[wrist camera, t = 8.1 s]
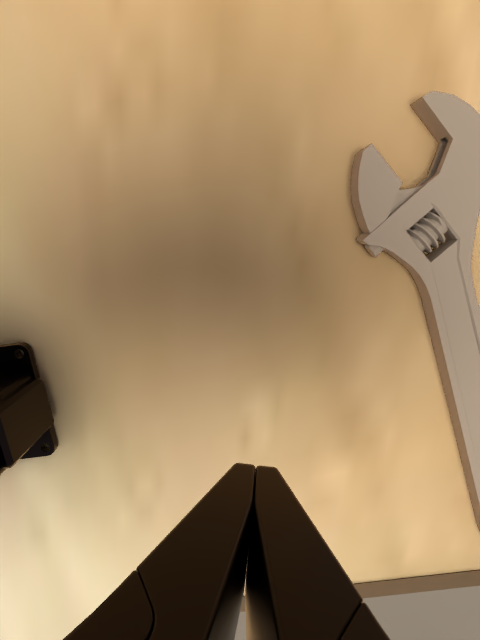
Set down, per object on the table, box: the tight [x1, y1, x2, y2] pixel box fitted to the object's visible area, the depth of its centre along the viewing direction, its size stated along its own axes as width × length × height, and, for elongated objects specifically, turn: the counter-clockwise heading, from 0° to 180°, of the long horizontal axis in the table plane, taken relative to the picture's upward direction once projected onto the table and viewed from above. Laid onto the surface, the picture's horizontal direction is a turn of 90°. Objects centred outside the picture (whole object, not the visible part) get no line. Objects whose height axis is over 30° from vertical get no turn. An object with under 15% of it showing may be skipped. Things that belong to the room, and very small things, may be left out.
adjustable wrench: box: [351, 91, 480, 530], centre depth 21 cm, size 25×6×2 cm, turn 16°
